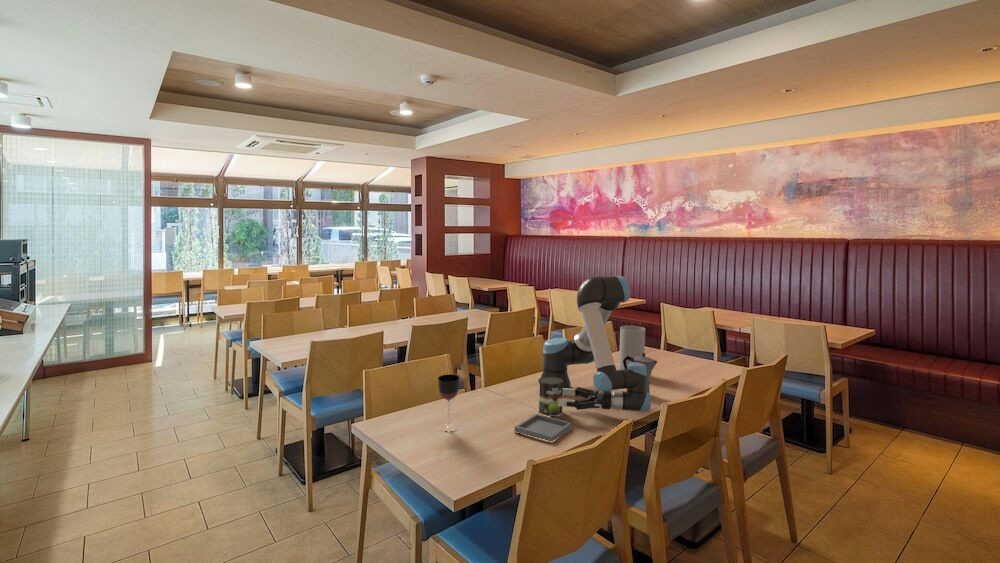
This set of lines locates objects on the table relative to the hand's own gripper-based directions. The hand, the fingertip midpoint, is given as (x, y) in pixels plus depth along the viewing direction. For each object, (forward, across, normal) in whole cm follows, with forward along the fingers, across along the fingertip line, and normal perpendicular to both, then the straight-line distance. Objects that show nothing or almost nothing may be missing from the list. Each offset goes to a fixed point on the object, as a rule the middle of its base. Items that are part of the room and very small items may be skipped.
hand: (558, 396), depth 210 cm
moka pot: (-36, +30, -8) cm, 47 cm away
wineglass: (+41, -22, -8) cm, 47 cm away
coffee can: (+4, +1, -8) cm, 8 cm away
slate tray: (+5, -18, -7) cm, 21 cm away
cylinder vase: (-35, +61, -8) cm, 71 cm away
